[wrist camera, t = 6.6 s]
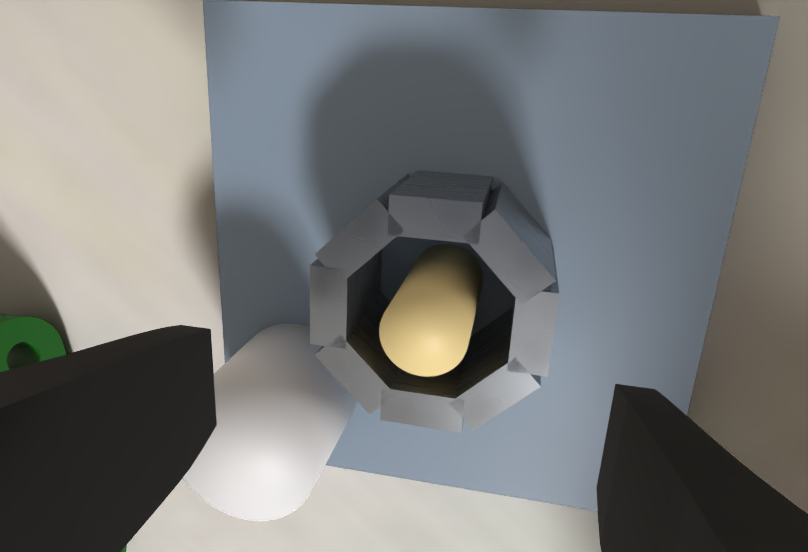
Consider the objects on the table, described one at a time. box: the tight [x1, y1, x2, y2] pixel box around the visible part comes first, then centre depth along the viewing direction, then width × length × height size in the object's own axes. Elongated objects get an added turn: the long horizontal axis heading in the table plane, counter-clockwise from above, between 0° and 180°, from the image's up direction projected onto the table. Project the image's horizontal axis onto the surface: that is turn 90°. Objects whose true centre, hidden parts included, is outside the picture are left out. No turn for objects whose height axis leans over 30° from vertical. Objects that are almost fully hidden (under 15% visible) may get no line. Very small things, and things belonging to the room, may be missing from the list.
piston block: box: [183, 0, 780, 521], centre depth 15 cm, size 14×14×5 cm
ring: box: [310, 170, 560, 433], centre depth 15 cm, size 6×6×4 cm
